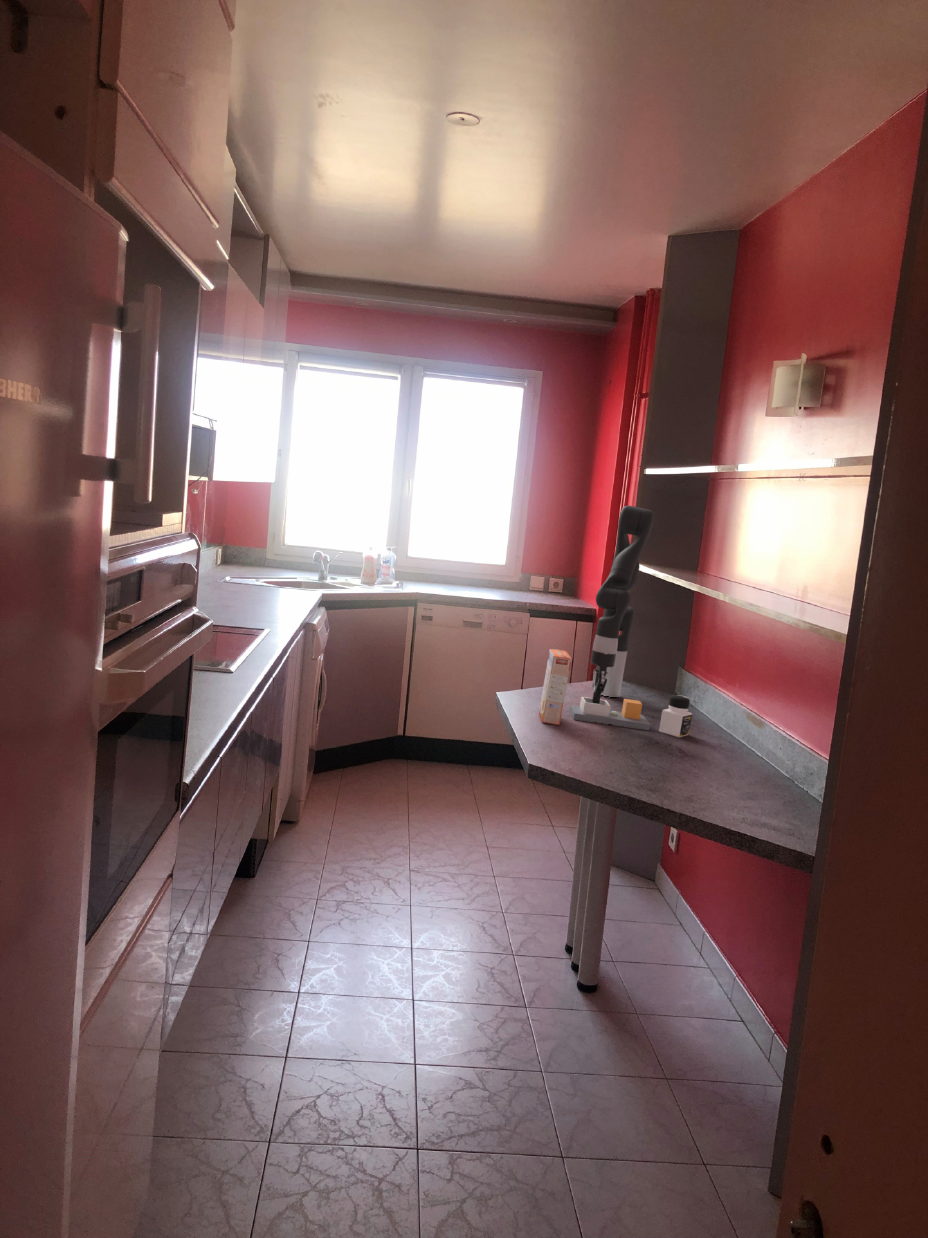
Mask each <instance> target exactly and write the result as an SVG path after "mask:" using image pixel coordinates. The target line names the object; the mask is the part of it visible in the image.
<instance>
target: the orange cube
mask: <svg viewBox="0 0 928 1238" xmlns="http://www.w3.org/2000/svg"><path fill="white" fill-rule="evenodd" d="M642 708H643V703H642V702H641V701H640V700H635V699H628V698H623V702H622V709H621V712H622V713H621V714H622V715H623V717H625V718H632V719H639V720H640V715H642Z"/></svg>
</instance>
